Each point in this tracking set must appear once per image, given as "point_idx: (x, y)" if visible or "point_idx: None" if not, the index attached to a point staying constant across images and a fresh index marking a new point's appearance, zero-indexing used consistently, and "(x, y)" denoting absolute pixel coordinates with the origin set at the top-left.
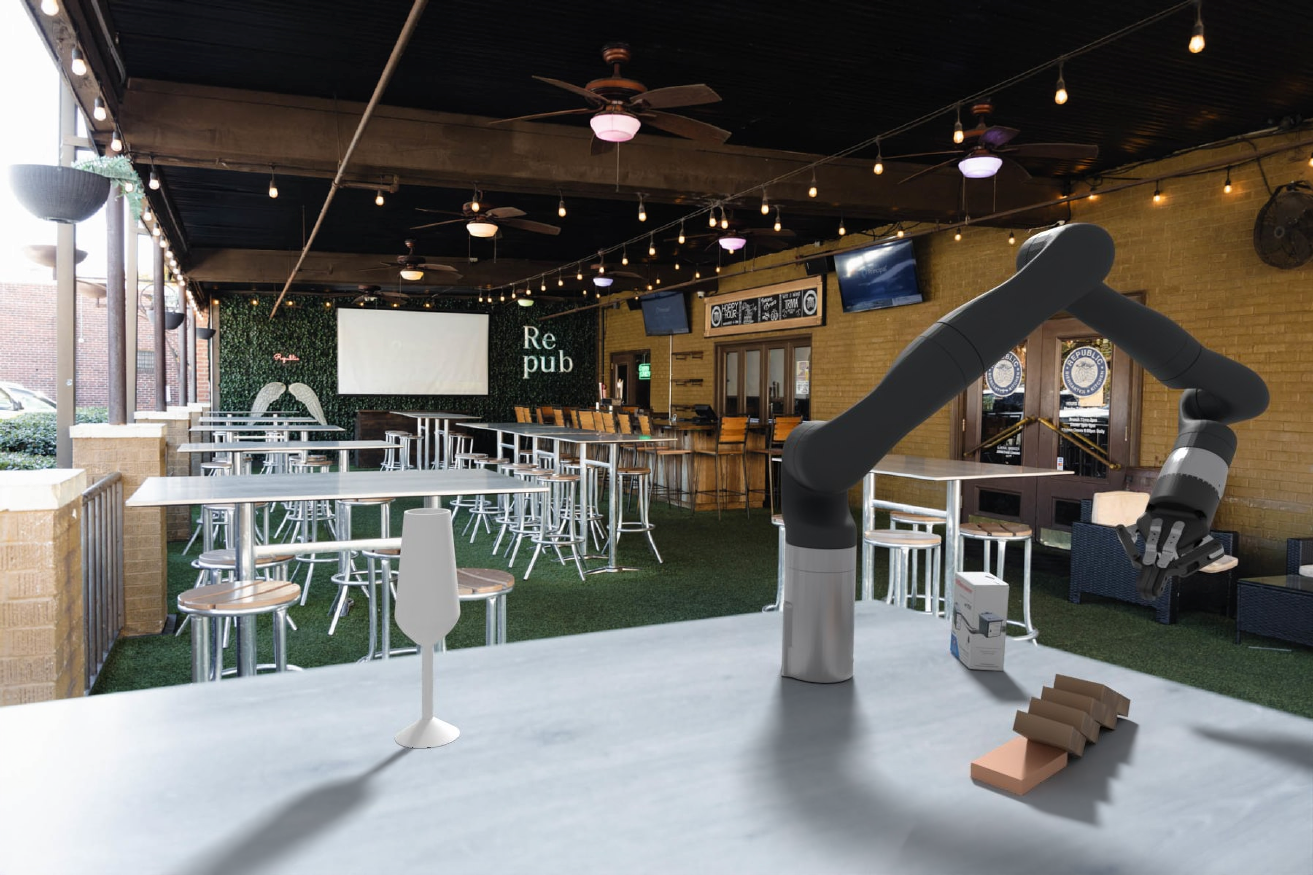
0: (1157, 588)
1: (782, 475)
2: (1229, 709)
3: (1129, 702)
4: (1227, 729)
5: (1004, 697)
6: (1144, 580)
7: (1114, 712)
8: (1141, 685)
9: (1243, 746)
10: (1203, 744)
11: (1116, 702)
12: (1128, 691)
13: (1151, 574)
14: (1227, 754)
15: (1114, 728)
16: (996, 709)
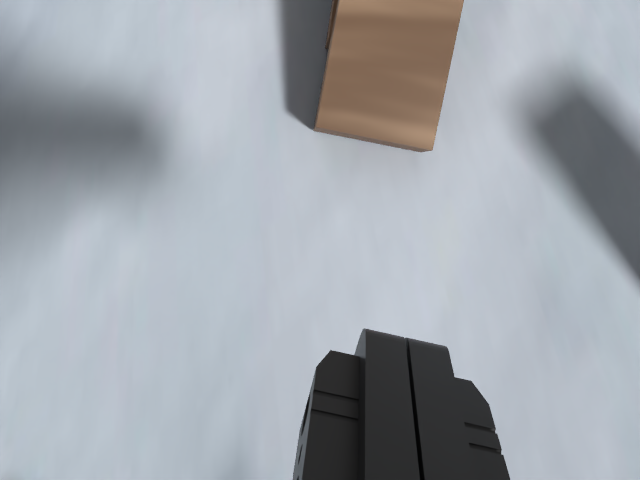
0: (331, 365)
1: None
2: (71, 390)
3: (316, 122)
4: (88, 202)
5: (579, 112)
6: (437, 391)
7: (332, 8)
8: None
9: (59, 103)
10: (145, 65)
11: (335, 16)
12: None
13: (409, 434)
14: (97, 35)
15: (326, 40)
16: (560, 29)
